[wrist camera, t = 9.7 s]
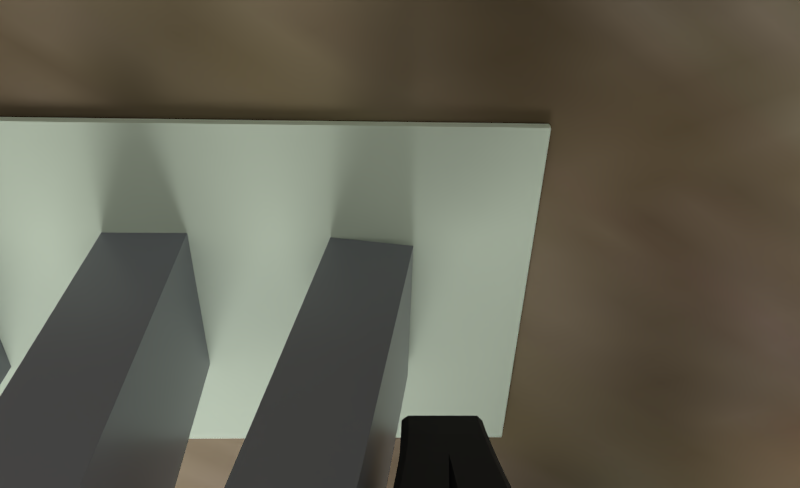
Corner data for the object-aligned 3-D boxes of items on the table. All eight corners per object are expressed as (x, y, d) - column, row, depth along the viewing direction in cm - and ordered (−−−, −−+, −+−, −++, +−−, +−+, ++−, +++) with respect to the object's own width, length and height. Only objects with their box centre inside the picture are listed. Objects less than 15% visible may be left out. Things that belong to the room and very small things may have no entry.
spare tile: (187, 233, 15) (61, 530, 9) (210, 363, 17) (120, 673, 11) (101, 232, 15) (-84, 531, 9) (135, 363, 17) (4, 676, 11)
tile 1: (413, 245, 15) (342, 546, 9) (407, 375, 17) (347, 686, 11) (330, 237, 15) (208, 526, 9) (335, 366, 17) (238, 667, 11)
